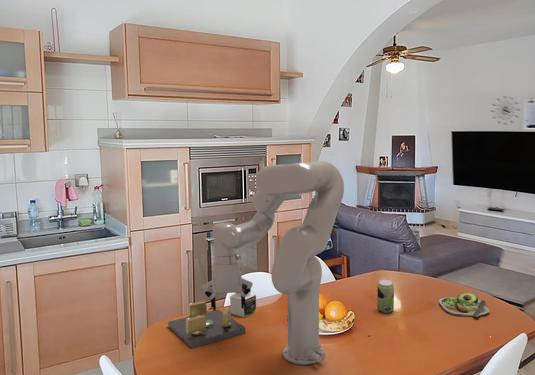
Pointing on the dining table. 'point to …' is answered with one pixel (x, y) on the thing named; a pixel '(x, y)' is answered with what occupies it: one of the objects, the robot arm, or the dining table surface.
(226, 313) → the knob
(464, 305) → the salad plate
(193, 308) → the olive open box
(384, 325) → the dining table surface
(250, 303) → the medicine bottle
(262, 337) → the dining table surface
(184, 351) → the dining table surface
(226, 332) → the plate
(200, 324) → the knob
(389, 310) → the beverage can
